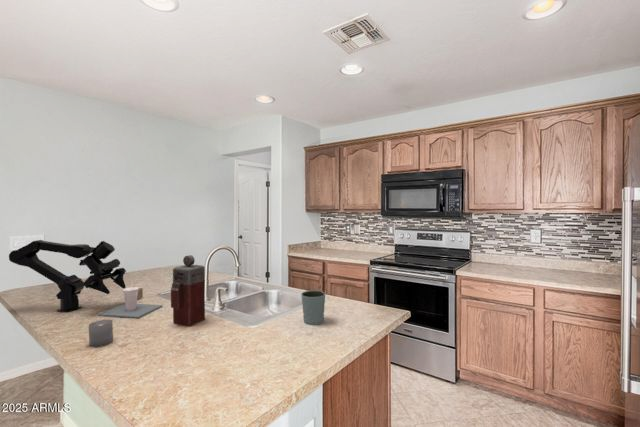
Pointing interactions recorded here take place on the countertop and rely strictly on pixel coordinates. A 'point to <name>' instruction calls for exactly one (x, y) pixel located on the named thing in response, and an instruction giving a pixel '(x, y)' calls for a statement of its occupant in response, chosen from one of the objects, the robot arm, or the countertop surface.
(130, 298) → the smoothie
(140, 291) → the walnut block
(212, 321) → the countertop surface
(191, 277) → the french press
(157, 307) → the slate mat
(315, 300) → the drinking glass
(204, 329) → the countertop surface
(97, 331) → the grey rounded canister
